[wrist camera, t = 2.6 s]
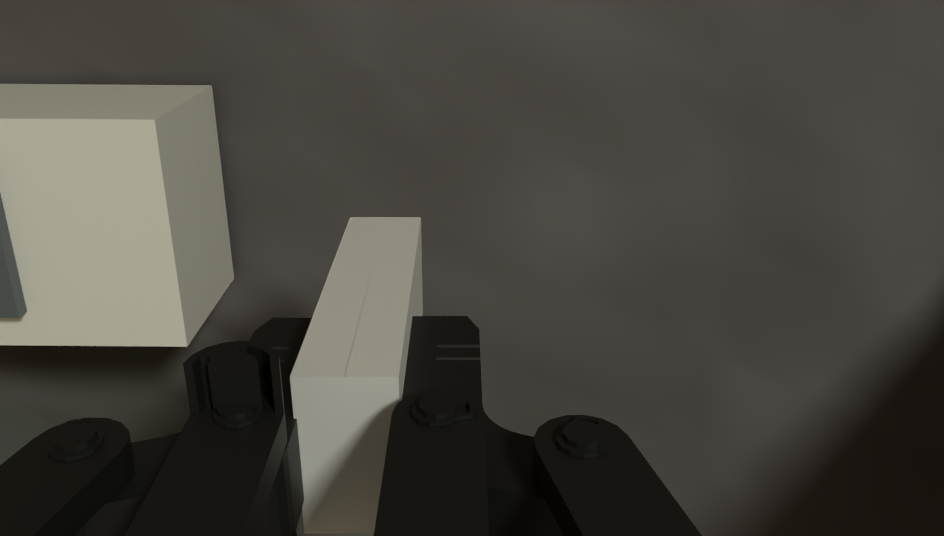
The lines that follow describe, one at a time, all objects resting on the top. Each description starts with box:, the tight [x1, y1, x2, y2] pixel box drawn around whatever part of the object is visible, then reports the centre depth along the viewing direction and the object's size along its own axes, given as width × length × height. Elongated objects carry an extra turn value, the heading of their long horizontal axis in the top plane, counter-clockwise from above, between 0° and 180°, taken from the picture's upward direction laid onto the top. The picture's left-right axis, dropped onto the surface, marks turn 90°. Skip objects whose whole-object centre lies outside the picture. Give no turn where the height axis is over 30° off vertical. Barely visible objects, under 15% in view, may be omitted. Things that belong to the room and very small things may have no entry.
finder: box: [0, 84, 234, 347], centre depth 22 cm, size 8×6×5 cm
